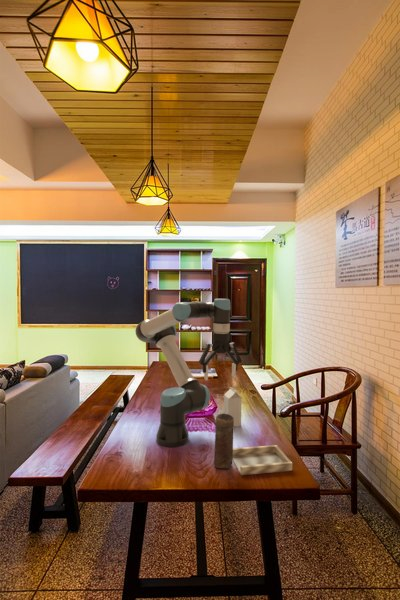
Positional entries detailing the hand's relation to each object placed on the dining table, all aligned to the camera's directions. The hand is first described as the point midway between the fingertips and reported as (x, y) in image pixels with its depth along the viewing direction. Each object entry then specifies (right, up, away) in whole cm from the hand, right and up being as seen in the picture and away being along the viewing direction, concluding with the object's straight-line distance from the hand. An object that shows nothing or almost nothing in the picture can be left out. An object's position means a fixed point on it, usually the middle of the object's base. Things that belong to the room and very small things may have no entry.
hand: (219, 378), depth 148 cm
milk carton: (+8, -30, +23) cm, 39 cm away
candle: (0, -31, -18) cm, 36 cm away
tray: (+16, -31, -15) cm, 38 cm away
